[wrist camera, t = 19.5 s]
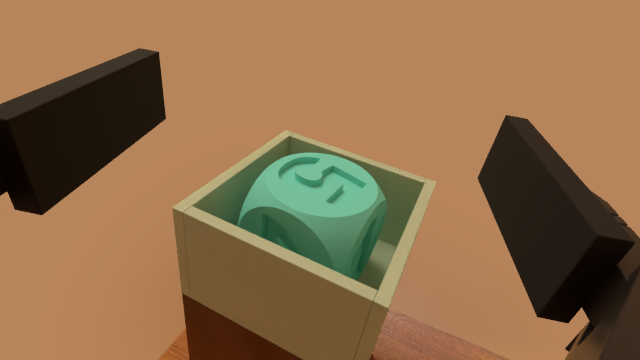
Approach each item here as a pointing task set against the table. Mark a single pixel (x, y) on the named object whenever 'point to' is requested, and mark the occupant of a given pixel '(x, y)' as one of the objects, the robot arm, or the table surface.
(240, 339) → the stand
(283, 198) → the decorative dice
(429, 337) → the table surface
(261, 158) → the bin
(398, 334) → the table surface
